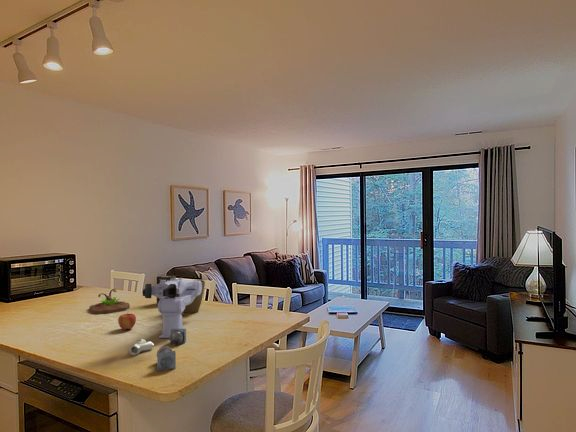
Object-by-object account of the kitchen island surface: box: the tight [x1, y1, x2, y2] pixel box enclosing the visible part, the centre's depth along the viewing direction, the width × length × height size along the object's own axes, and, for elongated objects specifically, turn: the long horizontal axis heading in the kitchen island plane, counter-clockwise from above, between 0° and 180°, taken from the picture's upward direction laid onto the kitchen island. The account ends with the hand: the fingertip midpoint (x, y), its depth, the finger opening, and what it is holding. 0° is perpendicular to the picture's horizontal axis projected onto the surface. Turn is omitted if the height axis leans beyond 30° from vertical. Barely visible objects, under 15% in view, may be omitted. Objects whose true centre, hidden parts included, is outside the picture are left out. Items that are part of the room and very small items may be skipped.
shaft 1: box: [156, 346, 177, 372], centre depth 126 cm, size 8×6×5 cm
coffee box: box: [156, 275, 177, 305], centre depth 218 cm, size 9×6×16 cm
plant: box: [88, 288, 131, 315], centre depth 205 cm, size 20×20×11 cm
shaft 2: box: [168, 328, 187, 346], centre depth 148 cm, size 4×6×5 cm
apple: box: [117, 313, 137, 331], centre depth 167 cm, size 7×7×8 cm
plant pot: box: [177, 279, 206, 314], centre depth 200 cm, size 15×15×16 cm
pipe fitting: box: [128, 338, 155, 356], centre depth 139 cm, size 8×4×7 cm
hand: (153, 293), depth 140 cm, fingers open, 7 cm apart
